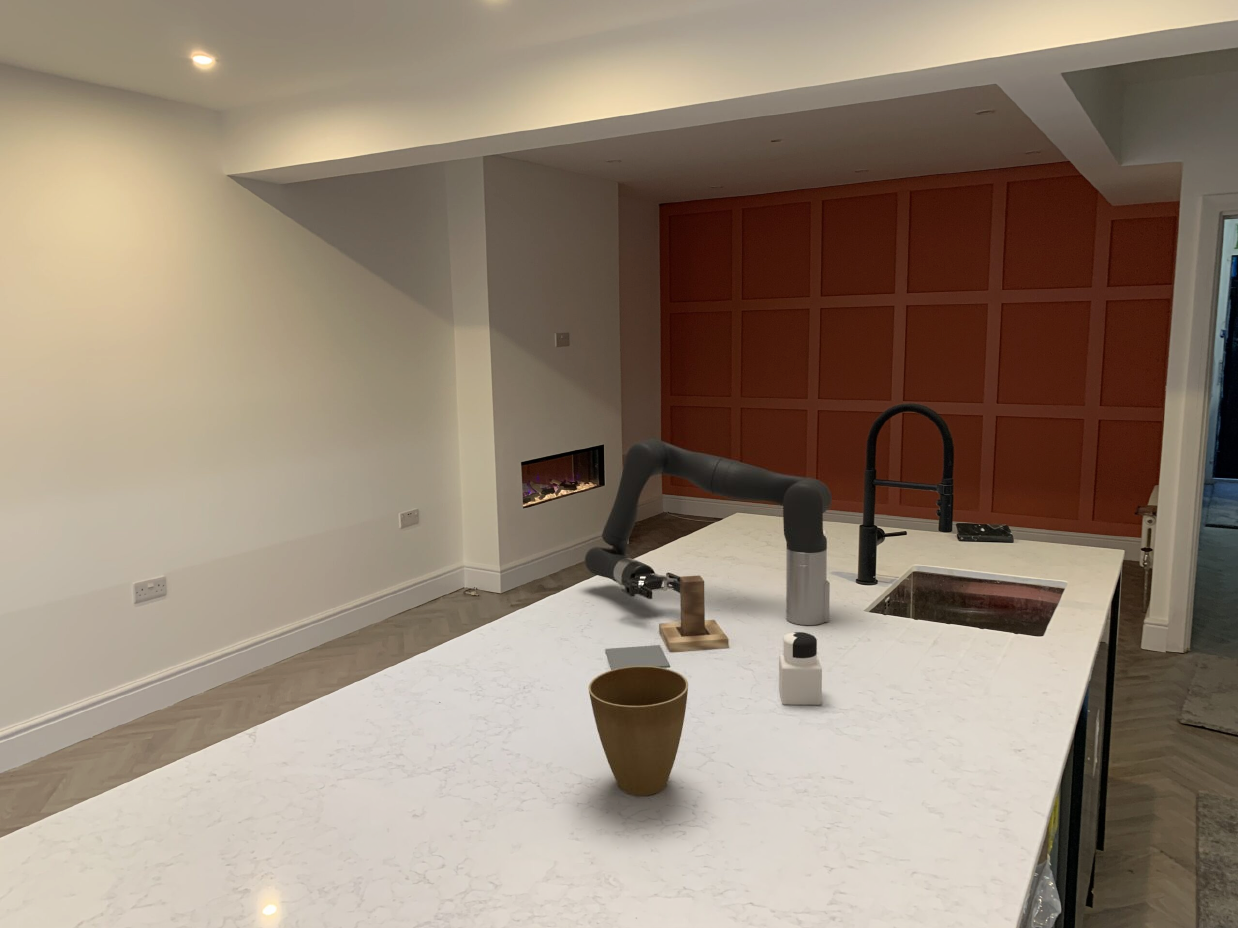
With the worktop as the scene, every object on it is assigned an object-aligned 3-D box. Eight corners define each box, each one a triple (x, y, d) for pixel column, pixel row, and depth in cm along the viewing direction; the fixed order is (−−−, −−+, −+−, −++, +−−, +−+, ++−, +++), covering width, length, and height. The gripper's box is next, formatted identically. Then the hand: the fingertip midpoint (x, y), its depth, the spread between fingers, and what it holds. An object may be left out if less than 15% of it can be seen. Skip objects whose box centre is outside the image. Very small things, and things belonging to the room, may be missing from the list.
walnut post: (700, 635, 195) (699, 575, 193) (705, 642, 191) (704, 580, 189) (680, 636, 195) (680, 576, 193) (685, 643, 190) (684, 582, 188)
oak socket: (714, 627, 200) (714, 619, 200) (728, 647, 187) (728, 638, 187) (659, 631, 198) (658, 623, 198) (669, 651, 186) (669, 642, 185)
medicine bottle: (816, 689, 164) (817, 628, 163) (821, 705, 157) (822, 642, 156) (778, 689, 165) (778, 628, 163) (782, 704, 158) (782, 642, 156)
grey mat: (659, 646, 189) (659, 644, 189) (670, 667, 177) (670, 665, 177) (605, 650, 188) (605, 648, 187) (611, 671, 176) (611, 669, 176)
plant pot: (632, 751, 142) (630, 658, 139) (708, 778, 132) (707, 679, 130) (571, 789, 130) (567, 688, 128) (649, 822, 121) (647, 714, 119)
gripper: (608, 565, 212) (639, 580, 198) (658, 557, 218) (692, 571, 204) (608, 594, 213) (640, 612, 199) (659, 585, 220) (693, 602, 205)
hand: (667, 591), depth 202 cm, fingers open, 8 cm apart
